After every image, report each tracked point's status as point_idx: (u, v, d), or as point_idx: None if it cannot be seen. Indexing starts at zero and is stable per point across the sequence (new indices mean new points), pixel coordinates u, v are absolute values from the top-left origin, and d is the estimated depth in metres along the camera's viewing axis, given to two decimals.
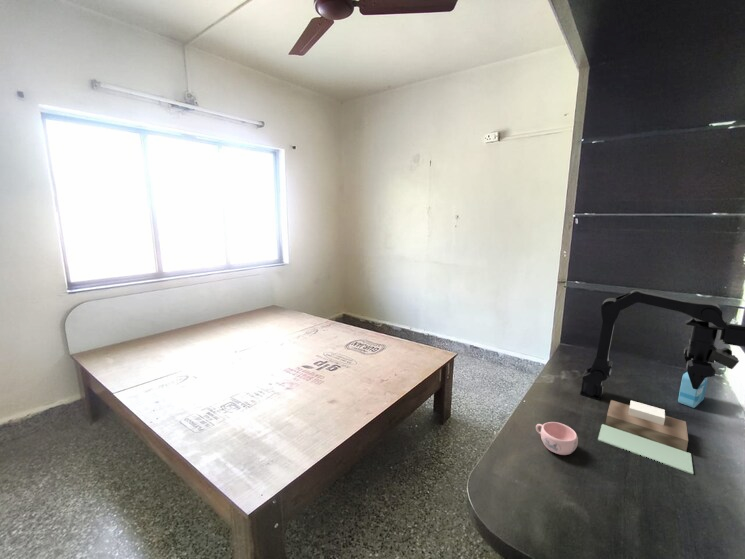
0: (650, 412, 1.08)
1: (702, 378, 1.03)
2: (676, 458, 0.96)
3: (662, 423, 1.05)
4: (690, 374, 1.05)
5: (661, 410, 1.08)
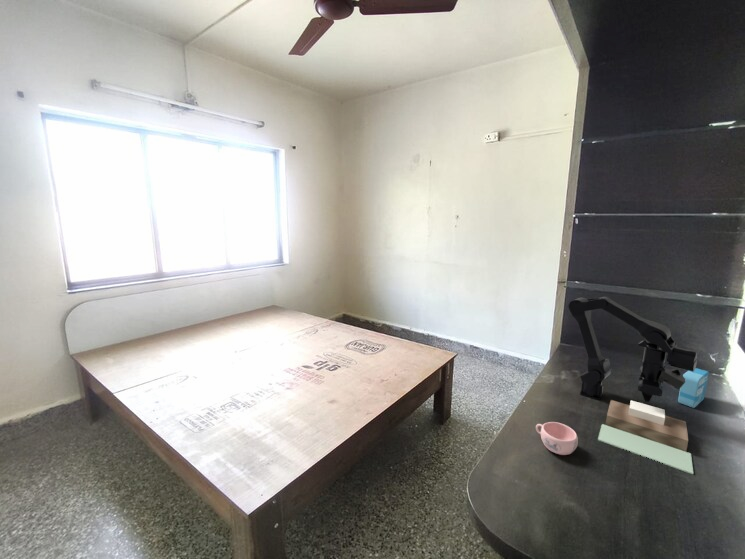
0: (650, 412, 1.08)
1: None
2: (676, 458, 0.96)
3: (662, 423, 1.05)
4: None
5: (661, 410, 1.08)
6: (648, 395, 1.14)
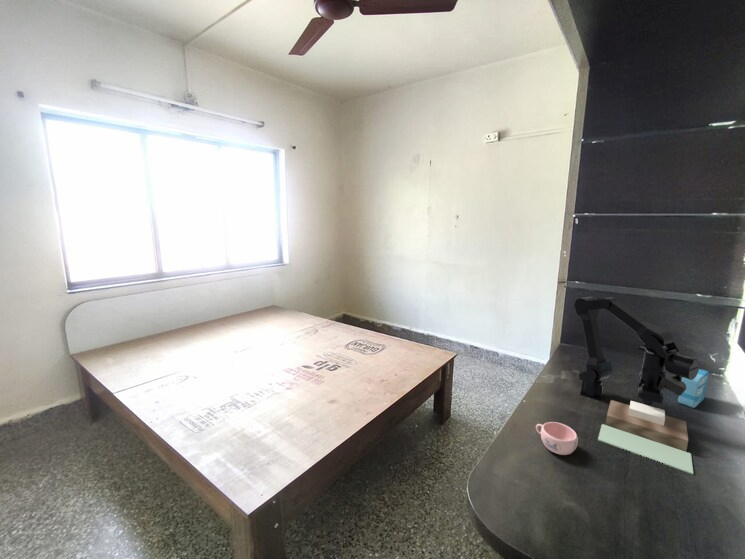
0: (650, 412, 1.07)
1: None
2: (676, 458, 0.96)
3: (662, 423, 1.05)
4: None
5: (661, 410, 1.08)
6: (648, 402, 1.11)
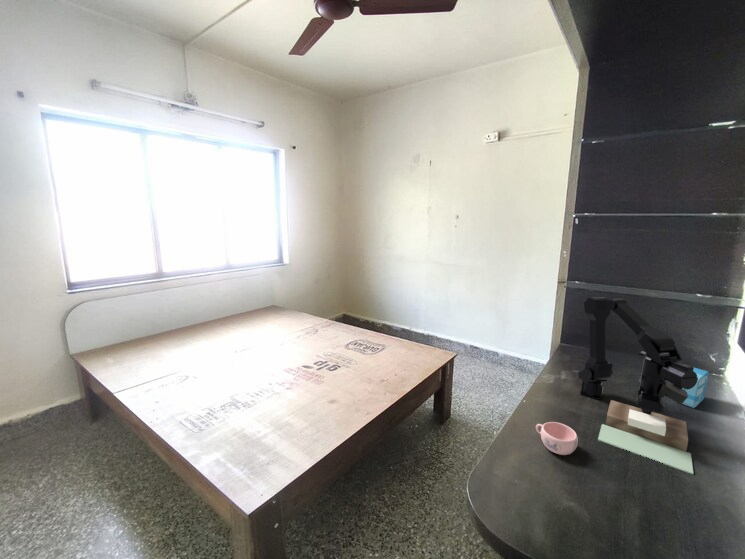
0: (650, 422, 1.02)
1: None
2: (676, 458, 0.96)
3: (663, 434, 1.00)
4: None
5: (661, 420, 1.03)
6: (648, 410, 1.06)
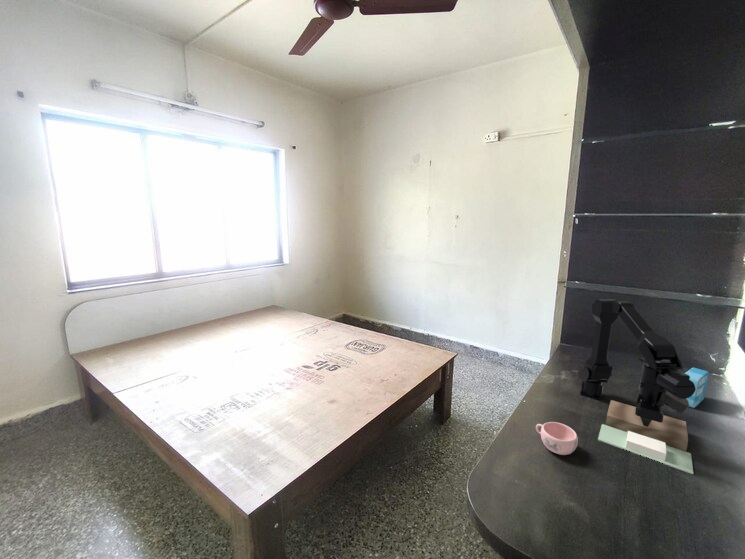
0: None
1: None
2: (676, 458, 0.96)
3: None
4: None
5: None
6: (647, 419, 1.02)
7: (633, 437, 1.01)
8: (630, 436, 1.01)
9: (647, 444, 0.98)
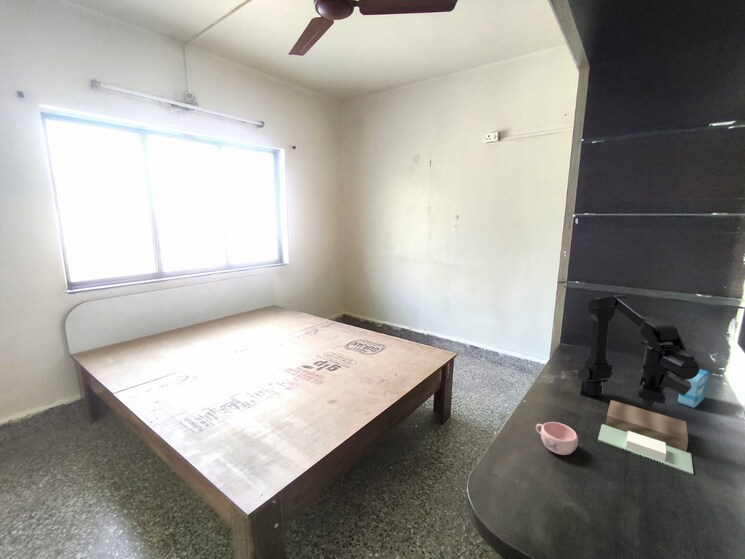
0: None
1: None
2: (676, 458, 0.96)
3: None
4: None
5: None
6: (649, 402, 1.02)
7: (633, 437, 1.01)
8: (630, 436, 1.01)
9: (647, 444, 0.98)
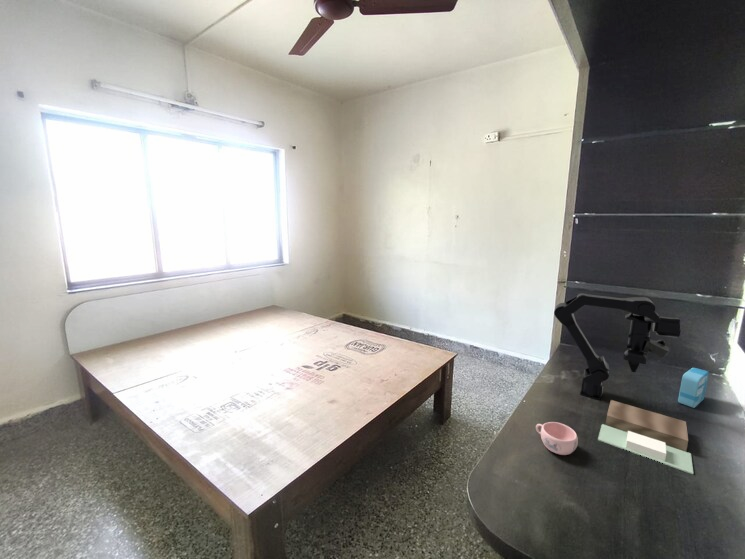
0: None
1: None
2: (676, 458, 0.96)
3: None
4: None
5: None
6: (634, 365, 1.20)
7: (633, 437, 1.01)
8: (630, 436, 1.01)
9: (647, 444, 0.98)
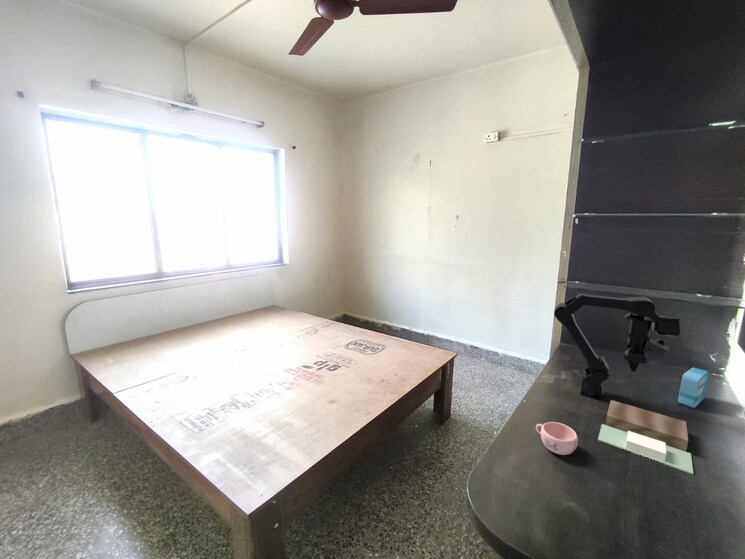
0: None
1: (638, 361, 1.19)
2: (676, 458, 0.96)
3: None
4: None
5: None
6: (634, 365, 1.20)
7: (633, 437, 1.01)
8: (630, 436, 1.01)
9: (647, 444, 0.98)
